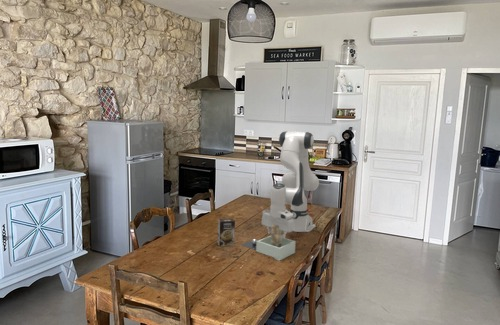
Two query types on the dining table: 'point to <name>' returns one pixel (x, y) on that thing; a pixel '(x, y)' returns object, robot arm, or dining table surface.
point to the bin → (276, 248)
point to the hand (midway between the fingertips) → (276, 235)
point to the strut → (276, 236)
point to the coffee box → (226, 232)
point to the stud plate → (251, 244)
